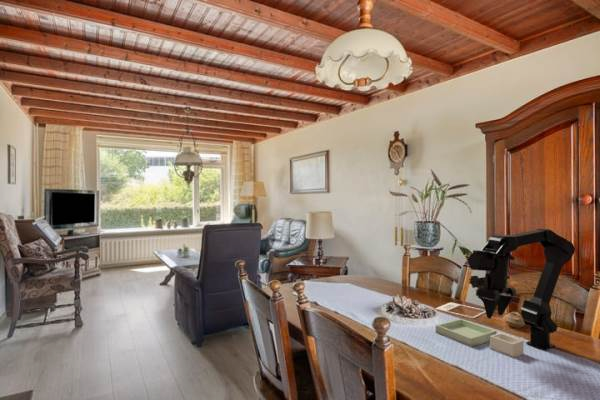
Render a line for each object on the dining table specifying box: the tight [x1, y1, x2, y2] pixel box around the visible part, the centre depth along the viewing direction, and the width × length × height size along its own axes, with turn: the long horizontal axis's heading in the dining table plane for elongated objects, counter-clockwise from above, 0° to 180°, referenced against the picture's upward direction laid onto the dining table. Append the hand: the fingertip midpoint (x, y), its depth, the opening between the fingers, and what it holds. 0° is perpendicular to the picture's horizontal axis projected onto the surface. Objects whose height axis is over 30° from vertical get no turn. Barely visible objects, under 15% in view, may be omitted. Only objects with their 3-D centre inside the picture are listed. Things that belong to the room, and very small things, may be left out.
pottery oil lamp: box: [501, 311, 526, 329], centre depth 144 cm, size 9×12×7 cm
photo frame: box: [434, 301, 486, 320], centre depth 163 cm, size 15×1×18 cm
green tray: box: [435, 318, 498, 348], centre depth 133 cm, size 15×16×3 cm
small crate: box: [489, 332, 525, 359], centre depth 119 cm, size 6×8×4 cm
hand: (494, 316), depth 119 cm, fingers open, 9 cm apart
